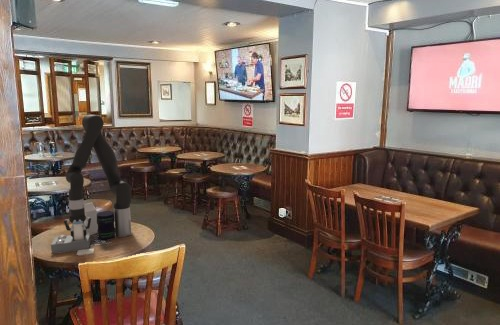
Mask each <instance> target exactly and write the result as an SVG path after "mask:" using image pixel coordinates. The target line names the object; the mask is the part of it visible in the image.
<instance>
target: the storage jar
mask: <svg viewBox="0 0 500 325" xmlns="http://www.w3.org/2000/svg"><path fill="white" fill-rule="evenodd" d="M96 215H97V226H98V230H97V232H98V233H97V239H98V240H99V241H103V242H104V241H111V240H113V239H115V238H116V235H115V219H114V211H112V210H111V211H109V210H107V211H105V210H104V211H100V212H97V214H96Z"/></svg>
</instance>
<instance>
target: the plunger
mask: <svg viewBox="0 0 500 325" xmlns="http://www.w3.org/2000/svg"><path fill="white" fill-rule="evenodd" d="M65 236H66V234H60V235H58V237H59V239H65Z"/></svg>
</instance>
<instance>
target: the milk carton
mask: <svg viewBox="0 0 500 325" xmlns="http://www.w3.org/2000/svg"><path fill="white" fill-rule="evenodd" d="M84 208H85V216H86V217H88V218H89V217H91V223H90V228H89V229H86V230H87V234H89V233H90V236H91V235H95V234H98V232H97V230H98V224H97V215H96V214H97V213H98V212H97V208H96V207H95V205H94V202H93V201H92V202H88V203H84ZM84 223H85V225H86V226H87V225H88V221H87V220H85V221H84Z"/></svg>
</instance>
